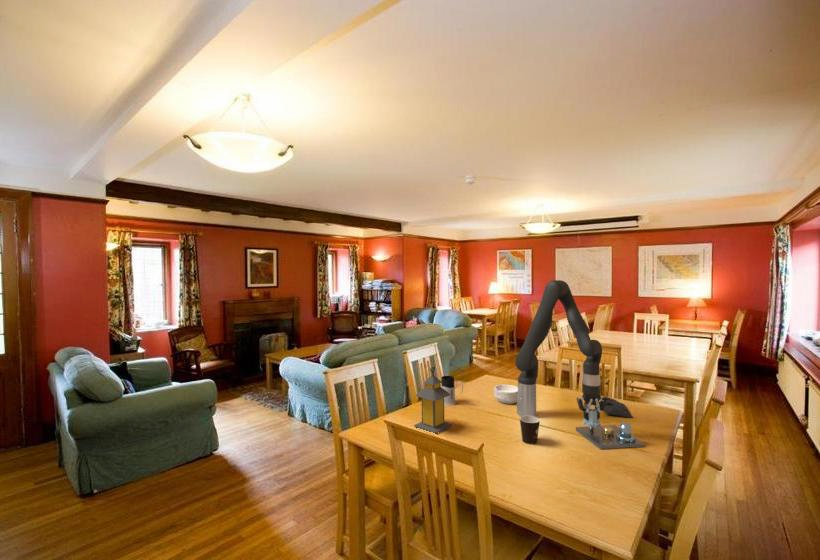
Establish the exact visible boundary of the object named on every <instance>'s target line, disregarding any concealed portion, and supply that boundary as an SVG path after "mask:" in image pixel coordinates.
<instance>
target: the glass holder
mask: <svg viewBox="0 0 820 560" xmlns="http://www.w3.org/2000/svg"><path fill="white" fill-rule="evenodd" d="M440 381H441V383H440V387H442V388H443V389H444V390H446V391H447V392H448V393H450V394H451V395H450V396H447V397H445V398H444V406H455V405H456V404H457V403H456V399H457V398H459V397H460V396H461V395H462V393H463V391H464V384H463V382H461V381H457V382H455V377H454V376H453V375H443V376H441V379H440ZM458 383H460V384H461V391H460V394H459V395H457V396H456V388H457V387H458ZM455 396H456V397H455Z"/></svg>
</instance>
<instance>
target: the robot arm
mask: <svg viewBox="0 0 820 560" xmlns="http://www.w3.org/2000/svg"><path fill="white" fill-rule="evenodd" d="M558 300H559V302H560V303H561V304H562V306H563V307H562V308H564V311H565V316H566V319H567V323H568V325H569V328H570V329H571V331H572V333H573V335H574V336H575V339H576V343H577V346H578V348H579V351H580V352H581V353H582V354H583V356H585V357H586V358H585V360H584V361H583V364H582V396H581V397H576V403H577V405H578V409H579V410H580V411H581V412H583V419H585V420H589V413H588V411H589V408H591V406H593V408H594V409H596V410H597V420H598V421H600V418H601V414H600V413H601V412H602V411H603V410H604V408H605V404H606V400H607V399H606V398H605V397H604V395H603V396H601V376H600V375H601V373H600V372H601V371H600V370H601V367H600V365H601V361H602V360H601V359H602V355H603V354H602V353H603V346H602V343H601V342H600V341H599V340H598V339H597V340H596V339H591V338H590V335H589V334H590V333H591V330H590V328H589V326H588V325H587V323H586V321H585V319H584V317H583V315H582V314H581V312H580V310H579V308H578V306H577V304H576V301H575V299H574V296H573V293H572V291H571V289H570V286H569V284H568V282H566V281H564V280H561V279H560V280H556V279H555V280H550V281H549V282H547V283H546V284H545V287H544V290H543V293H542V296H541V301H540V304H539V306H538V308H537V310H536V312H535V315H534V317H533V319H532V322H531V325H530V327H529V330H528V332H527V334H526V337H525V339H524V342H523V344H522V346H521V348H520V350H519V352H518V353H517V355H516V357H515V360H514V361H515V363H514V364H515V367H516V369H517V370H518V371H521V372H520V374H519V375H518V377H517V387H518V395H517V401H516V413H517V414H518V416H519V417H521V416H534V417H537V379H538V375H539V373H538V372H539V360H538V357H537V354H536V351H537V350H538V348H539V347H540V346H541V344H543V342H544V341H545V340H546V338H547V337H548V335H549V333H550V330H551V328H552V325H553V313H554V309H555V307H556V304H557V302H558ZM599 402H600V404H599Z"/></svg>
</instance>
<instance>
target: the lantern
mask: <svg viewBox="0 0 820 560" xmlns="http://www.w3.org/2000/svg"><path fill="white" fill-rule="evenodd" d="M429 370H430V371H429V372H430V374H431V375H430V376H429V377H428V378H427V379H425V381H423V383H424V387H423V388H422V389H421V390H419V391H418V392H417V393H416V394H415V395H414V396H415V397H419V398H421V421H420V422H418V423H416V424H414V428H415V427H416V428H415V429H417V428H420V429H423V430H426V431H429V432H433V433H435V434H436V435H438V434H437V433H438V432H441V431H443V432H445V431H446V430H449V429H450V428H452V426H453V424H452V423H451V422H447V421H446V420H445V405H444V398H445V397H447V396H450V395H451V394H450V393H448V392H447V391H446V390H444V389H443V388H442V387H441V379H439V378H438V377H436V376H435V370H436V367H435V366H430V367H429ZM420 429H419V430H420ZM444 430H445V431H444ZM441 433H442V432H441Z"/></svg>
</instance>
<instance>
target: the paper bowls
mask: <svg viewBox="0 0 820 560" xmlns="http://www.w3.org/2000/svg"><path fill="white" fill-rule="evenodd" d="M493 395H494V397H495V398H497V400H498V402H500V403H502V404H505V403H506V404H505V405H510V404H511V405H513V404H515V403H517V395H518V385H512V384H496V385H495V386H494V388H493Z"/></svg>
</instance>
